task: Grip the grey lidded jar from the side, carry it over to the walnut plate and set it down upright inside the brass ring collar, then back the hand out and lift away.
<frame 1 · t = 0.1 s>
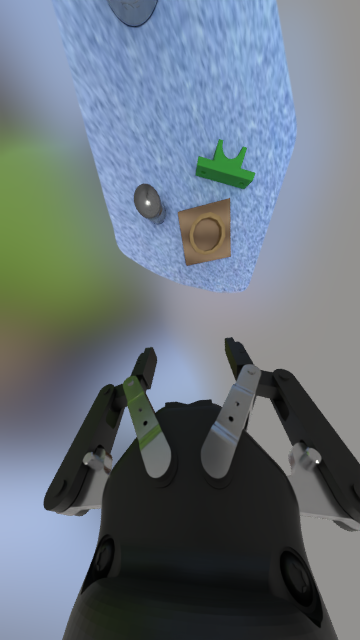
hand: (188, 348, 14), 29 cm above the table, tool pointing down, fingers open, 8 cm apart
ring seat: (205, 235, 34), on the table
grey lidded jar: (157, 213, 32), on the table
green bracket: (222, 172, 28), on the table
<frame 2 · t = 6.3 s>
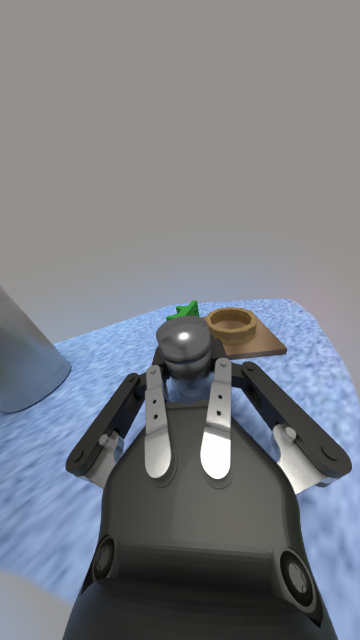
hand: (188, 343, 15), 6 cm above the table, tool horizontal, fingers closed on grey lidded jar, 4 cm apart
ring seat: (229, 334, 24), on the table
grey lidded jar: (196, 396, 16), on the table, touching gripper
green bracket: (184, 329, 29), on the table
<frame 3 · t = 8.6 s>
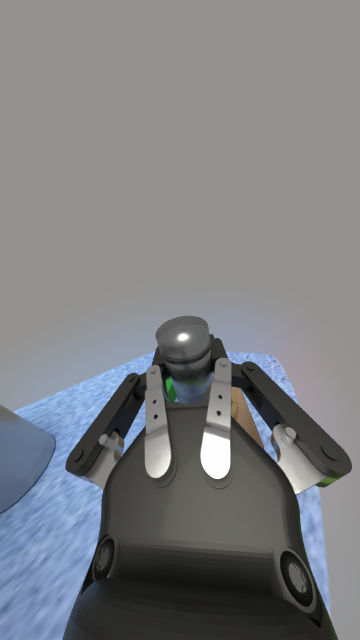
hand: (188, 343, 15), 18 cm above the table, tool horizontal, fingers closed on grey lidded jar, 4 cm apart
ring seat: (213, 408, 25), on the table
grey lidded jar: (196, 396, 16), point 12 cm above the table, touching gripper
green bracket: (171, 392, 29), on the table
when the fingers open (9 cm above the table, at t = 11.4 s): grey lidded jar drops 2 cm, resting on ring seat.
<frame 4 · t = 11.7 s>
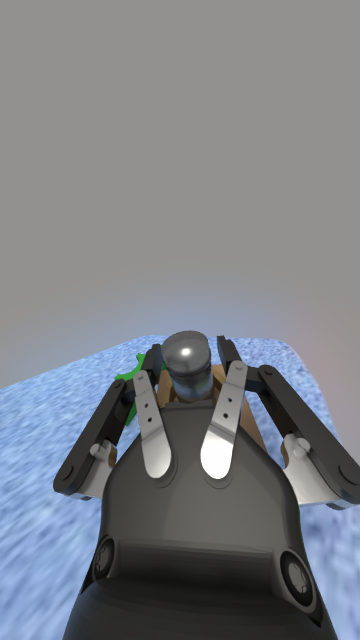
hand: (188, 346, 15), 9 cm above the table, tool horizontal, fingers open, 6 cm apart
ring seat: (199, 408, 17), on the table
grey lidded jar: (198, 405, 17), point 1 cm above the table, touching ring seat
green bracket: (146, 385, 22), on the table
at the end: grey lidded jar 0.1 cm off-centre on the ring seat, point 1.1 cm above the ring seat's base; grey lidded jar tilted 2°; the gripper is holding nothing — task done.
